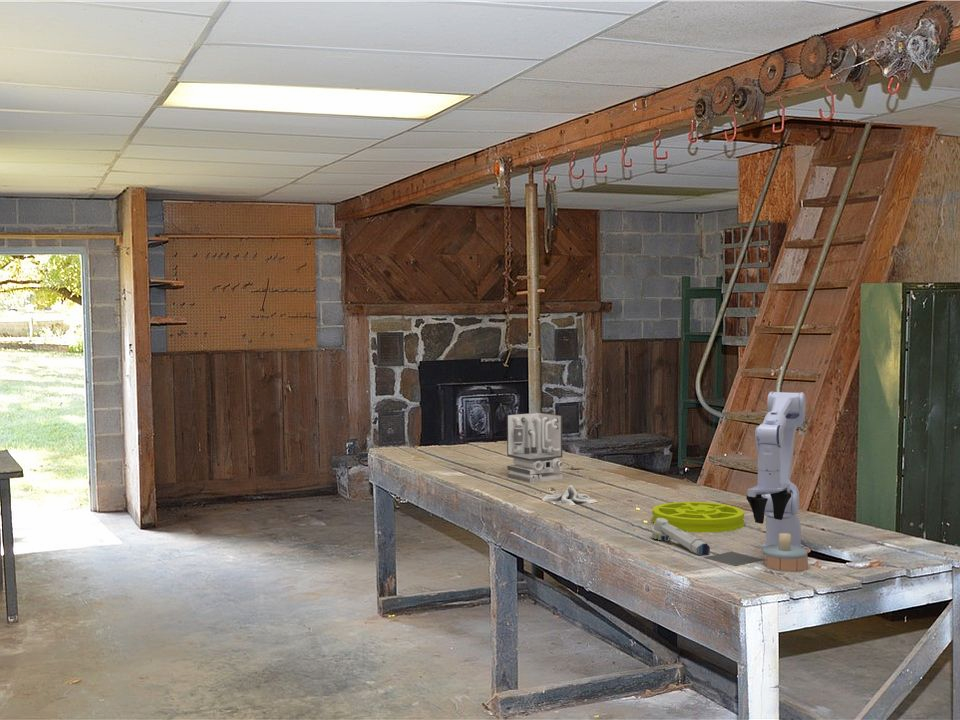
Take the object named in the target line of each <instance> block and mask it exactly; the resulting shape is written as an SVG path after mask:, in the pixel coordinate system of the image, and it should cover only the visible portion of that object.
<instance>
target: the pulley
mask: <svg viewBox="0 0 960 720" xmlns="http://www.w3.org/2000/svg"><path fill="white" fill-rule="evenodd" d="M657 518H664V519H666V520H668V523H669V524H670V525H672V526H674V527H676V528H678V529H680V530H682V531H684V532H685V531H688V532H687V533H701V532H711V533H723V532H725V531H726V532H733V531H737V530H741V529H742V528H744V526H745V520H744V518H745V511H744V510H743V509H741V508H740V507H737V506H733V505H730V504H724V503H723V504H722V503H717V502H708V501H707V502H706V501H705V502H704V501H675V502H666V503H661V504H658V505H655V506H653V507H652V523H653V522H654V523H655V520H656V519H657ZM654 523H653V524H654ZM726 532H725V533H726Z"/></svg>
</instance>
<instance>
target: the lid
mask: <svg viewBox="0 0 960 720" xmlns="http://www.w3.org/2000/svg"><path fill="white" fill-rule="evenodd" d="M761 552H762V554H763V555H764V556H765V555H767V556H770V557H774V558H782V559H799V558H804V557H806V556H808V549H806V548H804V547H798V546H792V545H791V534H789V533H780V534H779V545H768V546H765V547H763V546H762V551H761Z"/></svg>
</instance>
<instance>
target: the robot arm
mask: <svg viewBox="0 0 960 720" xmlns="http://www.w3.org/2000/svg"><path fill="white" fill-rule="evenodd" d="M806 401H807V398H806V393H804V392H803V391H802V392H786V391H785V392H784V391H770V392H769V393H768V395H767V403H766V404H767V405H766V406H767V411H768V412H767V414H766V415H765V417H764V418H763V421H762V423H760V424H759V426H758V425H757V426H756V428H755V433H754V435H755V436H754V437H755V438H754V439H755V444H756V445H755V447H756V449H755V450H756V453H757V485H755V486H753V487H751V488H747V494H746V500H747V502H748V504H749V506H750V508H751V511H752V515H753V517H754V518H753V519H754V521H755V523H756V524H764V521H765V542H763V543H759V545H758V546H759V547H762V548H763V547H765V546H768V545H779V534H780V533H789V534H791V545H792V546H798V547H802V548H804V544H802V523H801V520H800V518H799V517H798V516H797V515H798V513H799V511H800V490H799V488H798V487H797V485H796V484H795V483H793V482H792V481H791V476H792V468H793V467H792V466H793V459H794V458H793V457H794V448H795V447H794V445H795V437H796V434H797V433H796V432H797V430H798V427H800V426H801V425H803V424H804V421H805V415H806V407H807V405H806V403H807V402H806Z"/></svg>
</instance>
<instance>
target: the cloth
mask: <svg viewBox="0 0 960 720" xmlns="http://www.w3.org/2000/svg"><path fill="white" fill-rule="evenodd" d="M589 498H591V497H590V495H588V494H586V493H578V492H577V491H576V489H575V488H574V487H573V485H572V484H571V485H568V486H567V488H566V490H565V491H563V492H562V493H561V494H559V493H556V494H555V493H554V494H547V495H545V496H543V497H542V499H541V501H542V500H543V501H542V502H550V504H552V503H553V504H552V505H554V504H556V503H557V502H559V501H561V503H562V504H569V505H576V506H577V503H574V502H579V503H578V504H582V503H594V502H598V500H596V499H594V498H591V499H589ZM546 500H547V501H546ZM594 504H595V503H594Z"/></svg>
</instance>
